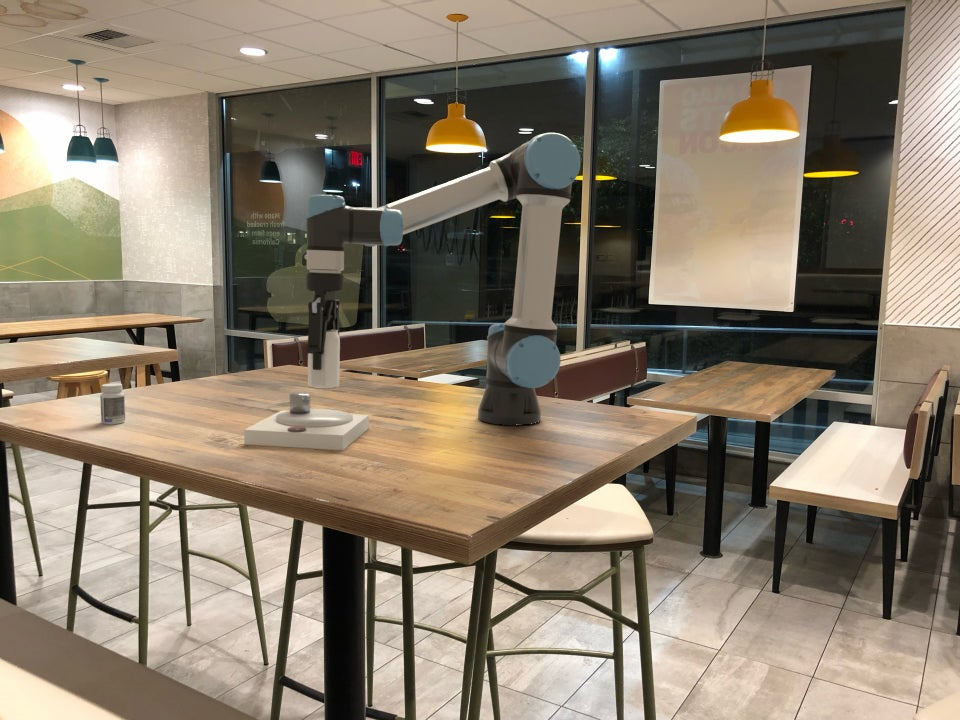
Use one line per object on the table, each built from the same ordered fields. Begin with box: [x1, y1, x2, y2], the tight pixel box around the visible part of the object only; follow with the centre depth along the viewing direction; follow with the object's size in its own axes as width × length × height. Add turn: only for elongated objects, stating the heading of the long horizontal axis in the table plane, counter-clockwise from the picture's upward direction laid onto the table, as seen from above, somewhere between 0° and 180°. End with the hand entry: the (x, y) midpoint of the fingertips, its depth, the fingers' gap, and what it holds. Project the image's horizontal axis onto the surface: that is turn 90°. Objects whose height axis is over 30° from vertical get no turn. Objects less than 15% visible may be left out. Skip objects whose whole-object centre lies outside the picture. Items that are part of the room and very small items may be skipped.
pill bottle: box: [99, 382, 126, 425], centre depth 162 cm, size 5×5×8 cm
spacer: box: [289, 391, 311, 414], centre depth 163 cm, size 4×4×4 cm
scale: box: [243, 408, 370, 451], centre depth 157 cm, size 20×21×4 cm
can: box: [307, 329, 341, 390], centre depth 156 cm, size 6×6×12 cm
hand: (323, 382), depth 156 cm, fingers closed on can, 6 cm apart
